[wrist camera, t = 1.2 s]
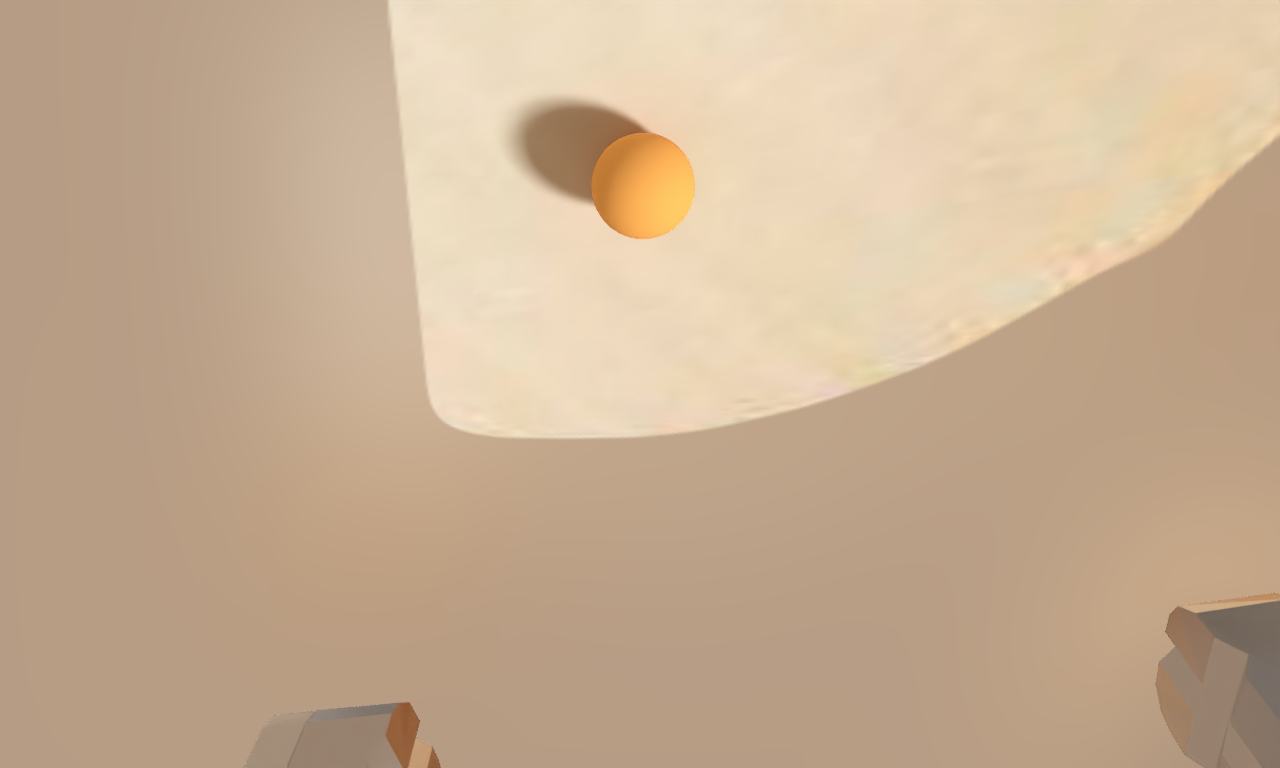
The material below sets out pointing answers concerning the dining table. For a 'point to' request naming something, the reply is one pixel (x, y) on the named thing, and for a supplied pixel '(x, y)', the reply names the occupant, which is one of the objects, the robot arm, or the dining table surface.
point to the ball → (643, 185)
